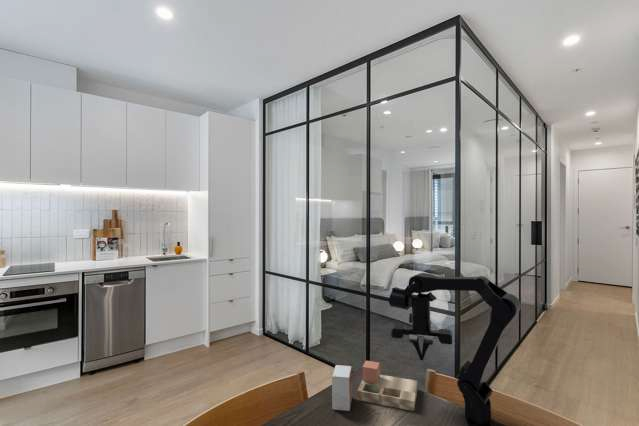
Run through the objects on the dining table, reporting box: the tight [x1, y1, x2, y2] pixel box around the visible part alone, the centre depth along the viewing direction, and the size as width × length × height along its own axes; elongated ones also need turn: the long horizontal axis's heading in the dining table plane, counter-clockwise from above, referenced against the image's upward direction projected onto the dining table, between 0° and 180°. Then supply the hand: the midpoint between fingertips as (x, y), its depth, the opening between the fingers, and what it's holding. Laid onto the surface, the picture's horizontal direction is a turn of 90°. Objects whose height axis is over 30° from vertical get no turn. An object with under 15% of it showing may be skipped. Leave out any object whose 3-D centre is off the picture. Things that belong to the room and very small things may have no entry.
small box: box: [331, 364, 353, 412], centre depth 104 cm, size 8×6×10 cm
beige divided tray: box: [356, 374, 418, 412], centre depth 109 cm, size 18×13×3 cm
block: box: [362, 360, 381, 384], centre depth 113 cm, size 5×5×5 cm
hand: (421, 359), depth 106 cm, fingers closed
